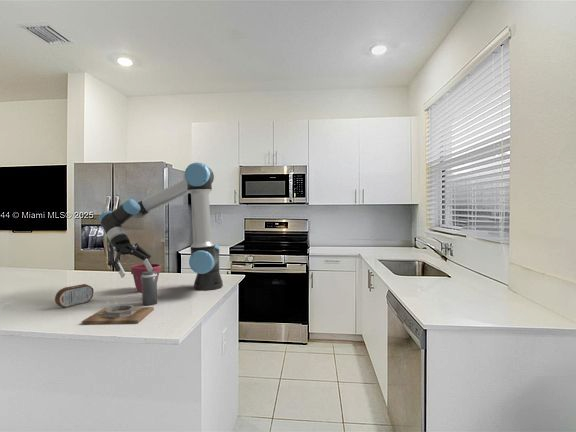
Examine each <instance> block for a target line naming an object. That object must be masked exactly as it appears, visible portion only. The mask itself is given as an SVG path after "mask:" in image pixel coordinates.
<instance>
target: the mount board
mask: <svg viewBox="0 0 576 432" xmlns="http://www.w3.org/2000/svg"><path fill="white" fill-rule="evenodd" d="M154 310H155V307H154V306H135V305H133V304H118V305H114V306H109V307H103V308H102V309H100V310H99V311H97V312H95V313H93V314H92V315H90V316H88V317H86V318H84V319H83V320H81V325H116V324H117V325H120V324H121V325H122V324H123V325H125V324H126V325H129V324H139V323H140V322H142V321H143V319H145V318H146V317H147V316H149V315H150V314H151V313H152V312H153V311H154Z"/></svg>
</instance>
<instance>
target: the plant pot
mask: <svg viewBox="0 0 576 432" xmlns="http://www.w3.org/2000/svg"><path fill="white" fill-rule="evenodd" d="M151 266H152V268H153V270H152V271H156V272H157V282H158V280H159V275H160V273H161V272H162V265H161V264H159V263H151ZM130 267H131V268H130V274H131V275H132V277H133V280H134V285H135V289H136V292H139V293H142V273H143V272H147V271H148V270H147V268H146V266H145V264H144V263H139V264H134V265H131V266H130Z"/></svg>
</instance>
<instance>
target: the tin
mask: <svg viewBox="0 0 576 432" xmlns="http://www.w3.org/2000/svg"><path fill="white" fill-rule="evenodd" d="M94 293H95V291H94V288H93V287H92V286H91V285H88V284H86V283H84V284H78V285H72V286H65V287H63V288H61V289H60V290H58V291H57V292H56V295H55V297H54V302H55V304H56V306H58V307H62V308H69V307H74V306H78V305H83V304H86V303H88V302H89V301H91V300H92V298H93V297H94Z"/></svg>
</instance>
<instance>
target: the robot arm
mask: <svg viewBox="0 0 576 432" xmlns="http://www.w3.org/2000/svg"><path fill="white" fill-rule="evenodd" d="M183 174H184V179H182V180H180V181H177V183H174V184H171V185H170V186H168V187H166V188H164V189H162V190H160V191H158V192H156V193H153V194H151V195H150V196H148V197H146V198H144V199H142V200H139V201H138V202H137V200H135V199H133V198H128V199H127V200H125V201H123V203H122V204H121V205H119V206H118V207H117V208H116V209H114V210H113V211H112V210H107V211H104V212H102V213H100V214H99V216H98V220H99V223H100V226H101V227H102V229H103V231H104V232H105V234H106V236H107V239H108V240H109V242H110V243H111V244H110V246H109V247H108V248H107V251H108V260H107V266H111V268H114V269H115V271H116V272H117V273H118V274H119V275H120V278H123V279H124V277H125V275H126V274H127V273H126V271H125V269H124V268H123V265H122V263H121V262H120V261H119V260H120V257H121V255H123V256H125V255H131V256H134V257H136V258H137V259H139V260H141V261H143V262H142V264H145V266H146V268H147V270H148V271H152V270H153V268H152V266H151V264H152V262H151V261H150V259H151V258H152V255H151V254H150V253H148V252H147V251H146V250H145V249H144V248H142V247H141V246H140V245H139V243H137V242H136V243H134V244H132V243H131V240H130V238H129V237H128V235H127V233H126V231H125V229H124V228H123V226H122V225H123V224H125V223H126V222H127V221H129V220H130V219H141V218H145V217H146V215H148V214H149V213H151V212H153V211H156V210H157V209H160V208H162V207H164V206H166V205H168V204H170V203H171V202H173V201H177V199H180V198H182V197H184V196H186V195H188V194H190V199H191V201H190V202H191V203H190V204H191V220H192V235H193V236H192V240H193V243H192V244H191V245H190V256H189V259H188V265H189V268H190V269H191V270H192V271H193V272H194V273H196V275H195V279H194V283H193V289H196V290H199V291H211V290H213V291H214V290H219V289H222V287H223V285H224V284H223V279H222V275H221V272H220V250H221V249H220V246H219V245H218V244H215V243H214V242H212V231H211V227H212V226H211V211H210V210H211V209H210V207H211V206H210V193H211V192H212V189H213V188H212V187H213V186H212V184H213V182H214V179H215V175H214V172H213V171H212V169H211V168H210V167H209V166H207V165H206V164H205V163H202V162H192V163H190V164H189V165H187V167H186V168H185V170H184V173H183ZM115 251H116V252H117V254H116V256H115V259H114V252H115ZM118 261H119V262H118Z"/></svg>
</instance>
